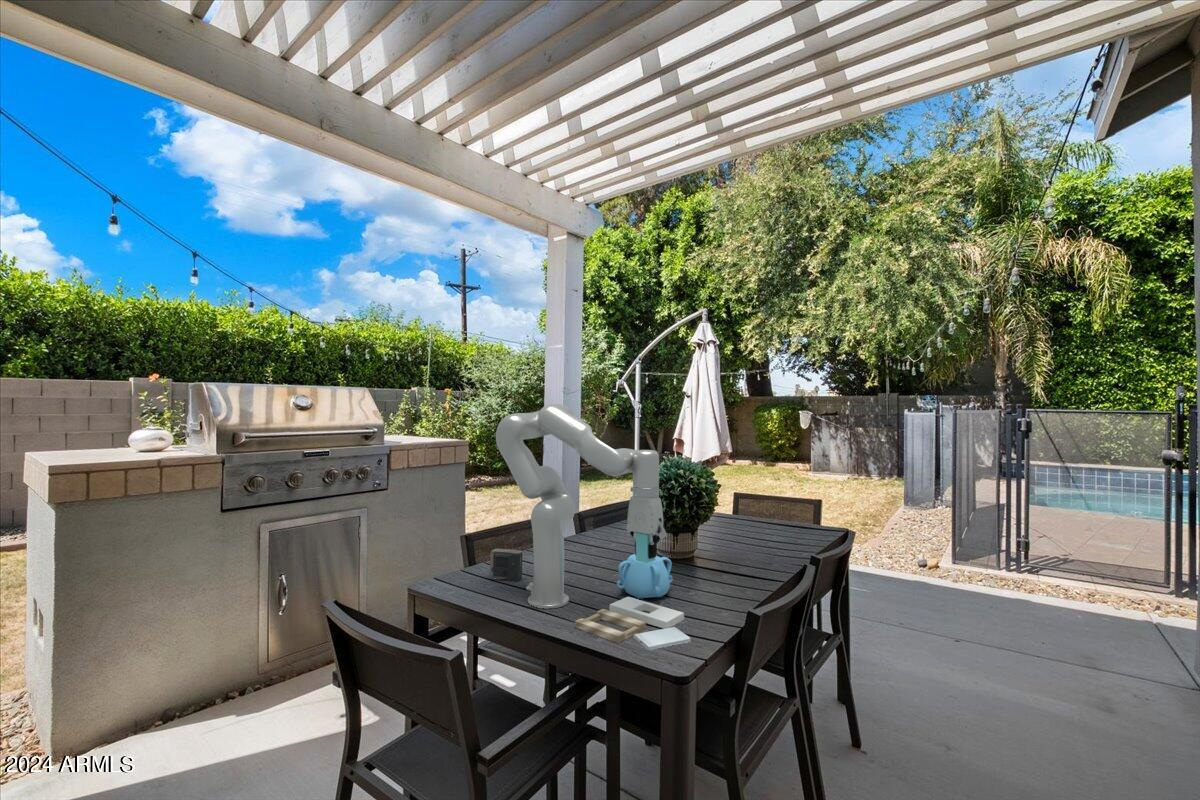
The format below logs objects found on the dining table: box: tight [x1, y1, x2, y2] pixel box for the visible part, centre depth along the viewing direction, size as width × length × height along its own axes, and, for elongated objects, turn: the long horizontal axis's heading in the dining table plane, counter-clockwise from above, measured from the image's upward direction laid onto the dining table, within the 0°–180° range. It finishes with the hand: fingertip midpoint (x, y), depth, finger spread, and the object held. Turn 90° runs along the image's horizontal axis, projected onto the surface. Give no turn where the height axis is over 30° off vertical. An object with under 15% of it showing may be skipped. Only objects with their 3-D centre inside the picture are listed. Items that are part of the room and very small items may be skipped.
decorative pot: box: [616, 553, 674, 600], centre depth 178 cm, size 16×16×14 cm
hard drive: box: [632, 626, 692, 651], centre depth 143 cm, size 2×8×12 cm
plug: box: [636, 532, 655, 563], centre depth 160 cm, size 4×4×8 cm
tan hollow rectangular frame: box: [574, 608, 647, 644], centre depth 150 cm, size 15×12×2 cm
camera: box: [488, 548, 523, 582], centre depth 192 cm, size 11×6×10 cm, turn 74°
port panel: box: [608, 596, 685, 629], centre depth 160 cm, size 20×9×2 cm, turn 50°
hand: (645, 555), depth 160 cm, fingers closed on plug, 3 cm apart
